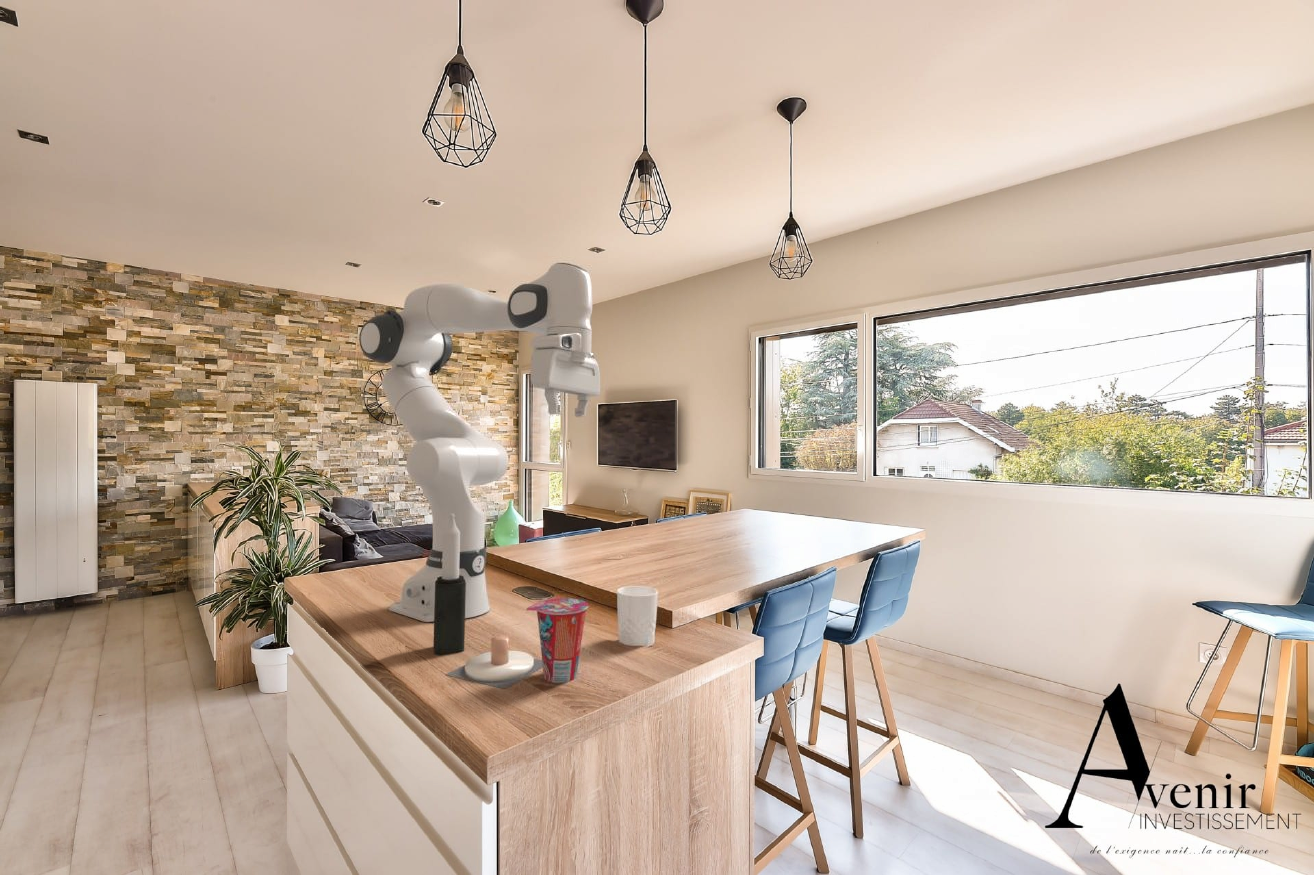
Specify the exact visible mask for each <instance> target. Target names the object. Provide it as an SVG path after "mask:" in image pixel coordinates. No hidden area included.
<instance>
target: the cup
mask: <svg viewBox="0 0 1314 875" xmlns="http://www.w3.org/2000/svg"><path fill="white" fill-rule="evenodd" d="M588 608H589V604H588V602H586V601H585V600H582V599H578V598H577V599H576V598H568V597H567V598H566V597H565V598H564V597H563V598H562V597H561V598H560V597H559V598H549V599H545V600H542V601H539V602H536V603H535V604H532V605H530V606H528V607H527V608H526V609H525V610H526V611H533V612H534V611H535V612H536V613H537V625H538V634H539V642H540V644H539V645H540V653H541V660H542V663H543V667H542V670H543V671H542V672H543V679H544V680H545V681H546V682H549V683H553V684H554V683H555V684H562V683H563V684H564V683H568V682H571V681H573V680H575V679H576V678H577V677H578V676H577V675H578V669H579V668H578V667H579V662H580V655H581V653H580V652H581V649H582V648H581V647H582V641H583V640H582V639H583V633H584V627H585V622H586V614H587V609H588Z"/></svg>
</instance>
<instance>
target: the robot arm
mask: <svg viewBox="0 0 1314 875" xmlns="http://www.w3.org/2000/svg"><path fill="white" fill-rule="evenodd" d="M592 312H593V285H592V279H591V276H590V273H589V272H588V271H587V269H584V268H582V267H581V266H578V265H576V264H572V263H567V262H556V263H553V264H551V266H550V267H549V269H548V270H547V272H545V274H543V275H542V276H540V277H538V278H537V279H535V280H533V281H530V282H529V283H522V284H520V285H518V286H517V287H515V288H514V290H513V291H512V292H511V293H510V296H509V297H508V300H504V299H500V298H498V297H496V296H493V295H490V294H487V293H485V292H482V291H480V290H478V289H475V288H471V287H469V286H465V285H461V284H455V283H440V284H439V283H437V284H431V285H425V286H421V287H418V288H416V289H414V290H412V291H410V292H409V293H408V294H407V296H406V297H405V300H404V305H403V309H402V310H401V311H400V312H396V311H395V310H393V309H388V310H386V311H384V313H383V314H380V315H377V316H373V317H371V318H369V320H367V321H366V322H365V323H364V324H363V325H362V327H361V329H360V331H359V337H358V338H359V339H358V340H359V347H360V349H361V352H362V354H363V355H364V356H365V357H366V358H368V359H369V360H371V361H374V362H377V363H380V364H390V365H391V368H390V369H388V370H387V371H386V372H385V373H384V375H383V377H382V381H381V387H382V390H383V392H384V395H385V398H386V400H387V403H388V404H389V406H390V407H391V409H392V411H393V412H394V413H395V416H396V417H397V418H398V420H399V421H400V422H401V424H402V426H403V427H404V428H405V430H406V432H407V433H408V434H409V436H410V437H411V438H412V439H413V440H414V441H415V444H413V446H412V447H411V448H410V450H409V451H408V454H407V457H406V470H407V473H408V475H409V478H410V479H411V480H412V481H413V482H414V483H415V484H417V485H418V486H419V487H420V489H421V490H422V491H423V494H425V497H426V499H427V500H428V504H429V506H430V510H431V511H430V512H431V517H432V548H431V549H430V550H425V551H423V552H422V554H423V555H422V558H425V557H427V558H426V559H427V560H426V562H425V565H424V566H423V567H422V568H420V569H419V570H417V572H415V574H413V575H411V577H409V578H408V579H407V580H405V582H404V583H403V585H402V588H401V590H402V591H401V596H400V597H401V598H400V600H398V601H397V600H396V601H395V602H393V603H392V604H390V605H389V609H388V611H390V612H394V613H396V614H400V615H403V616H405V617H408V618H413V619H415V620H417V621H421V622H423V623H424V622H425V623H429V622H434V605H435V581H436V580H437V578H438V577H440V576H442V555H443V532H444V531H445V529H446V528H447V526H448V523H449V520H450V514H454V520H455V523H456V527H457V528H458V530H459V531H460V558H459V575H461V576H463V577H464V579H465V582H466V598H465V619H469V618H475V617H478V616H481V615H484V614H486V613H488V612H489V611H490V610H491V605H490V601H489V596H488V591H487V582H486V572H485V571H486V570H485V568H486V563H487V547H486V546H485V531H486V529H485V528H486V522H485V521H486V516H485V512H484V511H483V509H482V508H481V507H479V505H477V504H476V503H475V502H474V499H473V498H472V495H471V491H470V486H484V485H487V484H491V483H493V482H495V481H498V480H500V479H502V478H503V477H504V476H505V475H506V473H507V471H508V467H509V456H508V452H507V450H506V449H505V447H504V446H503V445H502V444H501V443H499V442H497V441H494V440H492V439H490V438H488V436H486V435H484V434H483V433H482V432H480V431H479V430H477V428H475V427H474V426H472V425H471V424H470V423H468V422H467V421H466V420H465V419H464V418H462V416H460V415H459V414H458V413H457V412H456V411H455V410H454V409H453V408H452V406H451V405H450V404H449V402H448V401H447V400H446V399H445V397H444V396H443V395H442V393H441V392H440V391H439V389H438V388H437V387H436V386H435V384H434V383H433V382H432V380H431V378H430V376H435V375H437V374H438V373H440V372H441V370H442V368H443V367H444V366H446V365H447V363H448V361H449V360H450V359H451V357H452V354H453V351H454V344H453V338H452V336H451V334H456V335H458V334H470V333H471V334H472V333H483V332H488V333H489V332H501V331H503V332H504V331H506V332H524V333H525V332H526V333H531V334H535V335H538V336H535V337H531V339H530V347H531V349H532V353H531V355H530V370H529V371H530V382H531V384H532V386H533V388H537V389H541V390H544V397H545V400H546V402H547V406H548V408H547V409H548V411H547V413H548V414H549V415H559V414H560V413H561V405H560V404H559V402H558V397H557V396H559V393H565V394H570V395H576V397H577V398H576V399H577V401H578V403H577V407H575V408H574V416H575V417H576V418H585V417H586V416H587V409H588V405H589V403H590V398H591V397H598V396H599V395H600V393H601V374H600V365H599V363H598V362H597V359H595V355H594V353H592V347H593V346H592V340H593V338H592V337H593V329H592V326H591V317H592Z"/></svg>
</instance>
